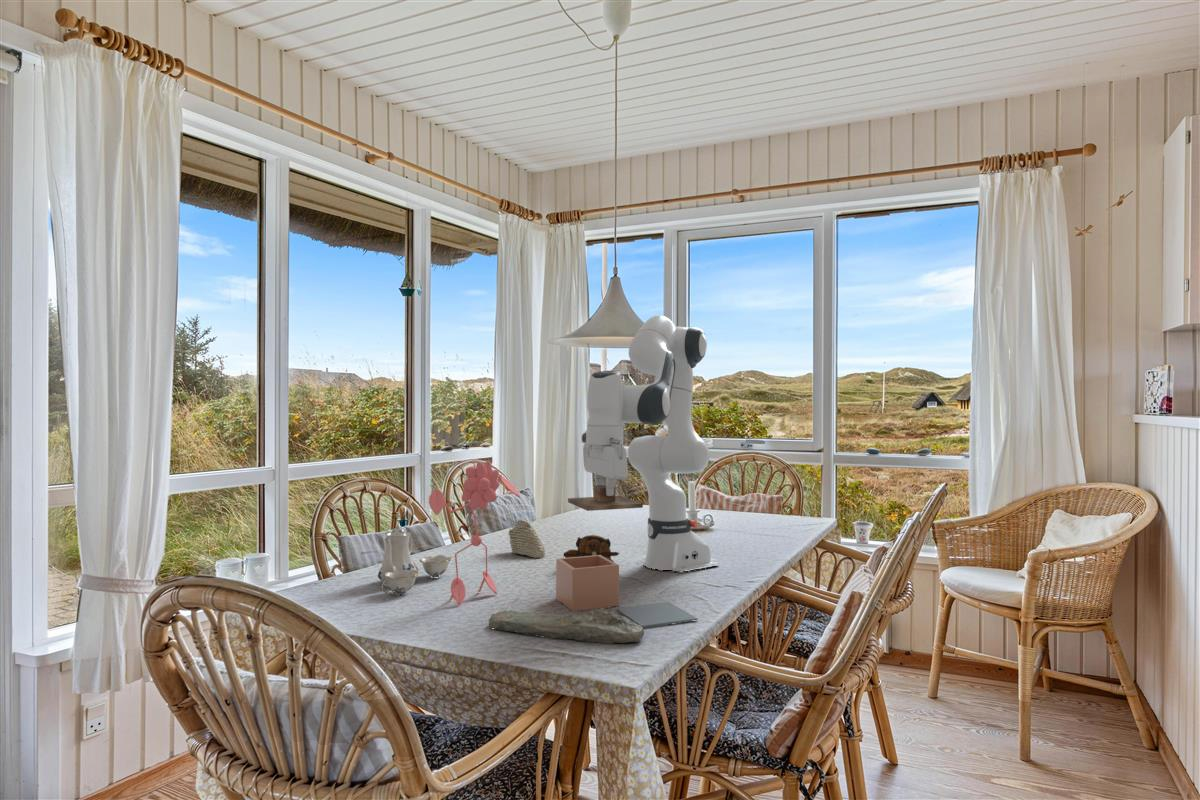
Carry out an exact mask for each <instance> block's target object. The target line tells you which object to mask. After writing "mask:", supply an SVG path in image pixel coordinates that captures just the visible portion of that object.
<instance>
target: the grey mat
mask: <svg viewBox="0 0 1200 800" xmlns="http://www.w3.org/2000/svg"><path fill="white" fill-rule="evenodd" d="M615 609H616V610H617V611H616V612H617V613H619V614H620V613H621V616H623V615H624V617H626V618H628V619H629V620H631V621H632V622H635V623H636V624H638V625H640V626H641V627H642V628H643V629H647V628H646V627H650V628H655V627H654V626H657V627H661V626H660V625H665V626H667V625H666V624H672V623H679V622H685V621H692V620H697V621H698V617H696V616H694V615H692V614H691V613H689V612H687V611H685V610H684V609H682V608H680V607H679V606H677V605H676V604H673V603H672V602H669V601H665V602H656V603H648V604H639V605H630V606H623V607H622V606H621V607H616V608H615ZM679 624H680V623H679ZM672 625H673V624H672Z"/></svg>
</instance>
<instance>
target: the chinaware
mask: <svg viewBox="0 0 1200 800" xmlns="http://www.w3.org/2000/svg"><path fill="white" fill-rule="evenodd" d="M385 536H386V538H384V542H385V549H384V553H383V558H382V562H381V566H380V568H379V570H378V573H377V578H378V579H379V580H380V582H382V583H381V590H382V592H383V593H389V592H390V594H391V595H396V594H398V595H399V596H401V595H400V594H405V593H407V592H408V591H410V590H411V589H412V588H413V587H414V585H415V584H416V583H415V582H416V579H417V577H418V576H419V573H418V572H419V568H418V566H417V565H416V563H415V562H414V560H413V558H412V556H411V553H412V551H413V548H414V538H413V536H412V534H411V532H409V531H405V529H404V528H402V526H401V525H400V523H397V524H396V526H395V528H393V529H392V530H391V532H388V533H386V534H385ZM452 558H453V557H452V556H445V555H443V554H438V555H435V556H429V555H428V556H427V555H426V556H424V557H422V559H419V563H421V564H422V567H423V570H424V572H425V573H426V574H428V575H429V576H432V577H439V575H441V576H442V575H443V574H444V573H446V571H447V570H448V568H449V564H450V562H451V560H452ZM383 585H384V586H383ZM386 586H387V588H390V589H389V590H387V591H385V590H384V587H386ZM407 594H408V593H407ZM398 595H397V596H398Z"/></svg>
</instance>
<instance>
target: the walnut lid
mask: <svg viewBox="0 0 1200 800" xmlns="http://www.w3.org/2000/svg"><path fill="white" fill-rule="evenodd" d="M605 488H606V484H604V485H600V486H596V485H593V496H586V497H584V496H583V497H570V498H569V497H568V498H567V502H568V503H569V504H571V505H573V506H575V507H578V508H581V509H583V510H584V511H587V512H588V511H589V512H590V511H591V512H592V511H607V510H608V511H609V510H625V509H637V508H638V509H640V508H641V509H642V508H643V507H644V503H643V502H640V501H636V500H634V499H631V498H628V497H626V496H623V495H616V486H615V487H614V495H613V496H607V495H605Z"/></svg>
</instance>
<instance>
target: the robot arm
mask: <svg viewBox="0 0 1200 800" xmlns="http://www.w3.org/2000/svg"><path fill="white" fill-rule="evenodd" d="M707 346H708V344H707V338H706V334H705V332H704V331H703V329H701V328H699V327H694V326H689V327H687V326H676V325H675V324H674V323H673V321H672V320H671V319H670V318H668V317H667V316H664V315H654V316H652V317H650V318H648V319H647V320H646V321H645V322H644V323H643V324H642V325H641V326H640V328H639V329H638V330H637V331H636V333H635V335H634V336H633V338H632V340H631V342H630V344H629V347H628V357H629V360H630V363H631V364H632V365H633V367H634V368H635V369H636V370H638V371H639V372H640V373H643V374H645V375H651V376H655V377H654V382H651V383H649V384H624V383H623V380H622V374H621V373H620V372H619V371H617V370H603V371H602V370H599V371H596V372H593V373H592V374H590V376H589V379H588V387H587V397H586V402H587V403H586V409H587V411H588V418H587V423H586V430H585V431H584V432H583V433H582V434H581V443H582V444H583V446H582V457H583V467H584V470H585V472H586V473H591V474H594V481H595V486H600V485H606V488H605V495H607V496H613V495H614V487H615V488H616V484H617V480H626V479H627V478H628V475H629V474H628V473H629V472H628V471H629V469H628V468H629V467H628V461H629V463H630V465H631V466H632V468H634V469H635V470H636V471H637V472H638V474H639V475H640V476H641V478H642V479H643V481H644V484H645V486H646V489H647V494H648V496H647V497H648V513H649V514H648V516H649V517H648V518H647V538H648V540H647V548H646V553H645V558H644V562H643V566H644V567H645V566H646V568H648V569H651V568H652V570H655V569H658V570H657V571H663V570H674V571H685V570H690V569H695V568H699V567H704V566H708V565H714V564H717V563H718V564H719V561H718V560H717V559H715V558H712V556H711V549H710V547H709V544H708V543H707V542H706V540H704V539H702V538H701V536H698V535H697V534H696V533H695V532H693V531H692V528H697V527H698V525H699V523H698V521H697V520H693V519H692V520H691V519H689V518H687V495H686V492H685V490H684V489H683V488H681V486H679V485H677V484H676V483H674V481H673V479H672V478H671V475H670V474H684V475H685V474H686V475H688V474H695V473H701V472H703V471H704V470H705V469H706V468H707V466H708V464H709V462H710V456H711V455H710V449H709V447H708V445H707V443H706V442H705V441H704V440H703V439H702V437H700V436H699V435H698V433H697V432H696V430H695V427H694V424H693V420H692V406H693V405H692V404H693V403H692V402H693V391H694V372H693V368H696V367H697V364H699V363H701V361H702V360H703V358H704V357H705V355H706V352H707ZM629 423H630V424H645V425H653V426H659V425H660V424H663V425H665V426H666V427H667V429H668V435H650V434H649V435H642V436H637V437H634V438H633V439H632V440H631V442H630V443H629V445H628V449H627V450H626V448H625V446H624V424H629ZM604 479H605V481H604ZM605 482H606V484H605ZM713 561H717V562H713ZM674 571H673V572H674Z"/></svg>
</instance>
